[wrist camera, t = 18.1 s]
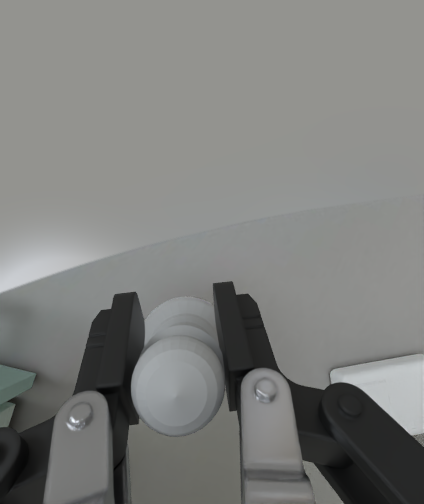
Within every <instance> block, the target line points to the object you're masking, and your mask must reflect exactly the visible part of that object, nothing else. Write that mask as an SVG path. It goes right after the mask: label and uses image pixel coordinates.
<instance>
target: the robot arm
mask: <svg viewBox="0 0 424 504" xmlns="http://www.w3.org/2000/svg"><path fill="white" fill-rule="evenodd" d="M213 296H214V313H215V323H216V330H217V336H218V342H219V348H220V350H221V352H222V355H223V363H224V372H225V386H226V392H227V398H228V404H229V411H236V410H237V415H238V421H239V426H240V430H239V437H240V475H241V504H316V503H315V498H314V493H313V489H312V485H311V482H310V479H309V477H308V476H307V475H306V473H305V470H304V466H303V461H302V460H304V461H309V462H313V463H314V464H315V466H316V467H317V468H318V470H319V471H320V472H321V473H322V475H323V476H324V477H325V479H326V480H327V481H328V483H329V484H330V485H331V486H332V488H333V489H334V490H335V492H336V493H337V494H338V496H339V497H340V498H341V500H342V501H343V502H344V503H345V504H424V447H423V446H422V445H421V444H420V443H419V442H418V441H417V440H415V439H414V438H413V437H412V436H411V435H410V434H409V433H408V432H407V431H406V430H405V429H404V428H403V427H402V426H401V425H399V424H398V423H397V422H396V421H395V420H394V419H393V418H392V417H391V416H390V415H389V414H388V413H387V412H386V411H385V410H383V409H382V408H381V407H380V406H379V405H378V404H377V403H376V402H375V401H374V400H373V399H372V398H371V397H370V396H369V395H367V394H366V393H365V392H364V391H363V390H361V389H360V388H358V387H357V386H354V385H352V384H349V383H344V382H338V383H333V384H331V385H329V386H328V387H327V388H326V389H325V390H321V389H316V388H311V387H306V386H301V385H298V384H296V383H294V382H292V381H290V380H289V379H287V378H286V377H285V376H284V375H283V374H282V373H281V371H280V370H279V368H278V366H277V364H276V361H275V358H274V355H273V352H272V349H271V345H270V342H269V339H268V336H267V333H266V330H265V327H264V324H263V321H262V318H261V315H260V311H259V308H258V305H257V303H256V302H255V301H254V300H253V299H252V297H251V296H250V295H249V294H241V295H236V292H235V289H234V285H233V282H232V281H231V282H222V283H213ZM144 344H145V323H144V318H143V314H142V310H141V307H140V303H139V299H138V295H137V293H136V292H130V293H121V294H115V295H114V298H113V303H112V308H111V309H107V310H101V311H100V312H99V314H98V315H97V316H96V318H95V319H94V320H93V322H92V325H91V329H90V332H89V338H88V340H87V344H86V349H85V352H84V356H83V359H82V363H81V367H80V371H79V375H78V379H77V383H76V386H75V390H74V393H73V395H72V397H71V398H69V399H68V400H67V401H66V402H65V403H64V404H63V405H62V406H61V408H60V409H59V411H58V412H57V414H56V415H55V416H54V417H52V418H51V419H49V420H47V421H45V422H43V423H41V424H38V425H36V426H34V427H32V428H30V429H27V430H25V431H23V432H21V433H17V431H16V430H14V429H12V428H9V427H1V428H0V504H132V501H131V483H130V465H129V448H128V444H127V440H128V430H129V425H135V424H139V415H138V413H137V411H136V409H135V407H134V404H133V400H132V396H131V380H132V374H133V372H134V369H135V366H136V364H137V362H138V360H139V357H140V354H141V352H142V350H143V348H144Z"/></svg>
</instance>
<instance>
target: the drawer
mask: <svg viewBox="0 0 424 504" xmlns="http://www.w3.org/2000/svg"><path fill="white" fill-rule="evenodd" d="M35 376H36V373H32V372H28V371H24V370H20V369H16V368H12V367H8V366H4V365H0V428H1V427H8V426H9V423H10V420H11V417H12V414H13V411H14V408H15V404H14V403H10V402H6V401H8V400H10V399H12V398H14V397H15V396H17V395H19V394H21V393H23V392H25V391H27V390H28V389H30V388H32V385H33V382H34V379H35Z"/></svg>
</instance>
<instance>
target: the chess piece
mask: <svg viewBox="0 0 424 504" xmlns="http://www.w3.org/2000/svg"><path fill="white" fill-rule="evenodd" d="M144 323H145V344H144V348H143V350H142V352H141V354H140V357H139V360H138V362H137V364H136V366H135V369H134V372H133V374H132V380H131V396H132V400H133V404H134V407H135V409H136V411H137V413H138V415H139V417H140V418H141V419H142V421H143V422H144V423H145V424H146V425H147V426H148V427H149V428H151V429H152V430H154V431H156V432H158V433H160V434H163V435H166V436H174V437H179V436H186V435H189V434H192V433H195V432H197V431H198V430H200V429H202V428H203V427H204V426H206V425H207V424H208V423H209V422H210V421H211V420H212V419H213V417H214V416H215V415H216V413H217V412H218V410H219V408H220V406H221V404H222V400H223V397H224V392H225V372H224V363H223V355H222V352H221V350H220V348H219V342H218V336H217V330H216V323H215V313H214V305H213V304H211V303H209V302H208V301H206V300H203V299H200V298H196V297H188V296H187V297H177V298H174V299H170V300H168V301H166V302H164V303H162V304H160V305H159V306H158V307H157V308H155V309H154V310H153V311H152V312H151V313H150V314H149V316H148V317H147V318H146V320H145V321H144Z"/></svg>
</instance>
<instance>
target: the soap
mask: <svg viewBox="0 0 424 504" xmlns="http://www.w3.org/2000/svg"><path fill="white" fill-rule="evenodd" d="M330 379H331V384H333V383H338V382H344V383H349V384H352V385H354V386H357V387H358V388H360V389H361V390H363V391H364V392H365V393H366V394H367V395H369V396H370V397H371V398H372V399H373V400H374V401H375V402H376V403H377V404H378V405H379V406H380V407H381V408H382V409H383V410H385V411H386V412H387V413H388V414H389V415H390V416H391V417H392V418H393V419H394V420H395V421H396V422H397V423H398V424H399V425H401V426H402V427H403V428H404V429H405V430H406V431H407V432H408V433H409V434H410V435H411V436H412V435H417V434H422V433H424V355H423V354H415V355H409V356H404V357H398V358H392V359H387V360H381V361H375V362H370V363H365V364H359V365H353V366H348V367H342V368H337V369H334V370H332V371H331V373H330Z"/></svg>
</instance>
